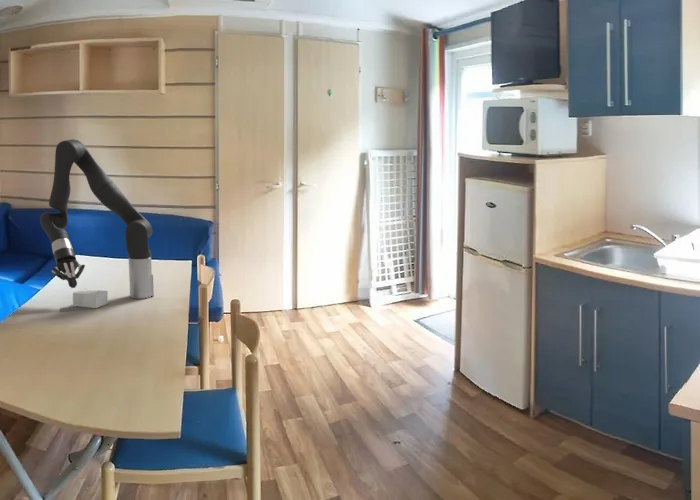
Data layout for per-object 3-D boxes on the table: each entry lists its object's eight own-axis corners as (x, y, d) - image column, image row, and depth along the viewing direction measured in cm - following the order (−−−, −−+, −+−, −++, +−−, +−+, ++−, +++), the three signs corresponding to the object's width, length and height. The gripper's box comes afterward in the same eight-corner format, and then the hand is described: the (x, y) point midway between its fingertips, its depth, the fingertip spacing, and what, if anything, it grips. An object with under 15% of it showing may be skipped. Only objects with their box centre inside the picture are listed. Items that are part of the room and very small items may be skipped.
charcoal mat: (90, 305, 232) (90, 304, 232) (92, 308, 228) (92, 307, 228) (60, 308, 226) (60, 307, 226) (61, 311, 222) (61, 311, 222)
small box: (72, 306, 228) (96, 308, 227) (72, 292, 228) (96, 295, 226) (84, 301, 236) (107, 304, 235) (84, 288, 235) (107, 290, 234)
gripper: (47, 248, 229) (57, 284, 223) (81, 245, 238) (92, 279, 231) (44, 258, 234) (54, 294, 228) (78, 255, 243) (89, 289, 236)
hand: (73, 286), depth 229 cm, fingers closed
